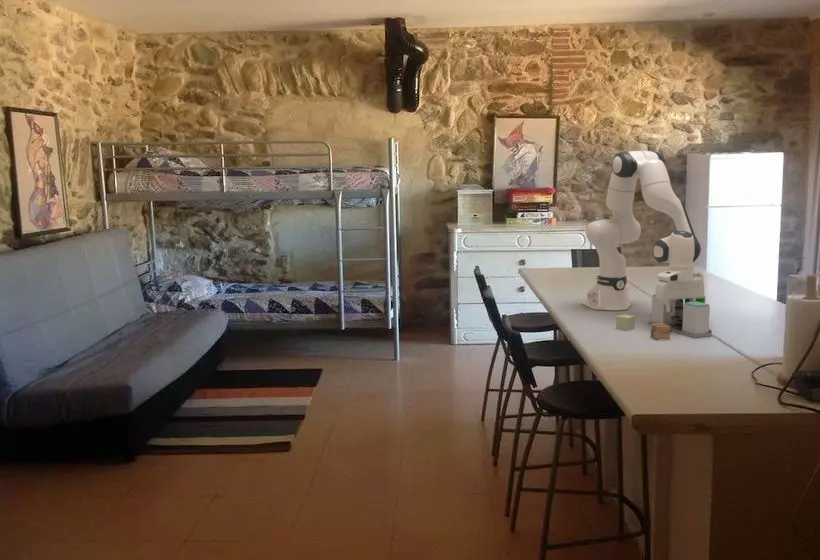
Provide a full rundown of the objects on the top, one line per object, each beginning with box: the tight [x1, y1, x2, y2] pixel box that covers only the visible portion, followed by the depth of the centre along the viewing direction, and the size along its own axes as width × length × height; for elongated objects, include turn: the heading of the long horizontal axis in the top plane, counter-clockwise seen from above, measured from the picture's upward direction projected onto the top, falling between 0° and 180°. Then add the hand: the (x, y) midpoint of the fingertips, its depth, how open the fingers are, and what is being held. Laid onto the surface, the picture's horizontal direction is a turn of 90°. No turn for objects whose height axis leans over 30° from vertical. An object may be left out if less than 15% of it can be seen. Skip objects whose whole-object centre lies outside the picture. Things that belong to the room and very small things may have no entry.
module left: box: [650, 294, 676, 324], centre depth 295 cm, size 7×6×11 cm
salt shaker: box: [671, 299, 684, 328], centre depth 287 cm, size 6×6×12 cm
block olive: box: [615, 314, 636, 332], centre depth 291 cm, size 5×5×5 cm
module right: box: [682, 301, 711, 334], centre depth 278 cm, size 7×6×11 cm
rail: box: [647, 320, 713, 339], centre depth 288 cm, size 26×8×2 cm, turn 20°
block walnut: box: [650, 323, 671, 341], centre depth 275 cm, size 5×5×5 cm
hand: (679, 310), depth 287 cm, fingers open, 8 cm apart
